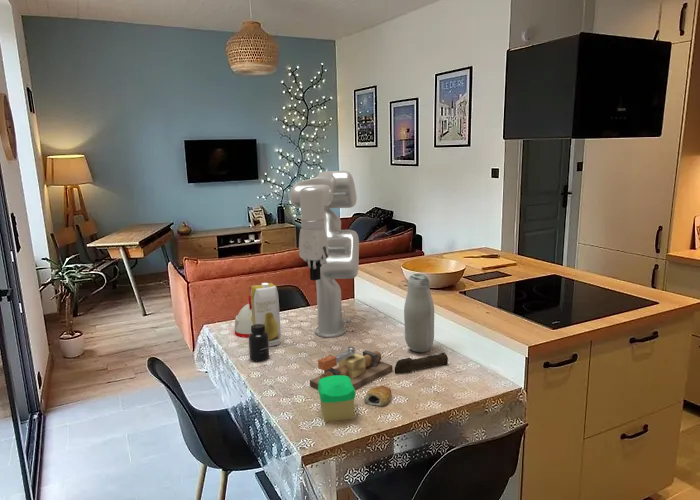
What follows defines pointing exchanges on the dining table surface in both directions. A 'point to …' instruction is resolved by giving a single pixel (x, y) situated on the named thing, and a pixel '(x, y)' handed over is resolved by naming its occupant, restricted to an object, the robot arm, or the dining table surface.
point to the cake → (336, 397)
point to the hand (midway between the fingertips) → (315, 279)
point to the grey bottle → (419, 314)
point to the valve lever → (335, 359)
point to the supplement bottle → (258, 343)
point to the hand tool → (420, 363)
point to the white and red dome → (244, 321)
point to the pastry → (378, 396)
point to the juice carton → (266, 310)
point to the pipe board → (364, 376)
